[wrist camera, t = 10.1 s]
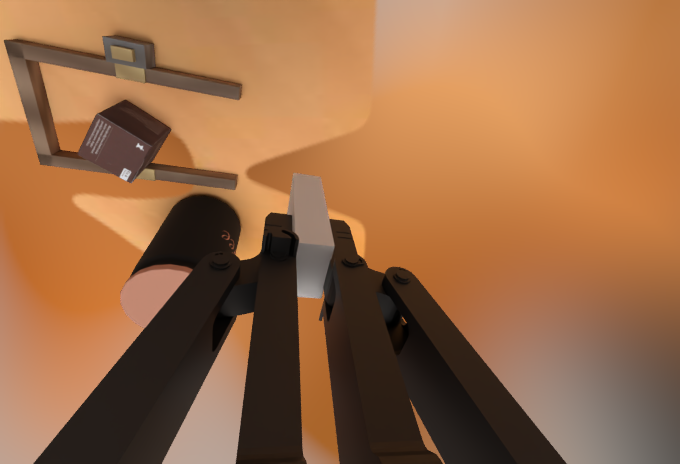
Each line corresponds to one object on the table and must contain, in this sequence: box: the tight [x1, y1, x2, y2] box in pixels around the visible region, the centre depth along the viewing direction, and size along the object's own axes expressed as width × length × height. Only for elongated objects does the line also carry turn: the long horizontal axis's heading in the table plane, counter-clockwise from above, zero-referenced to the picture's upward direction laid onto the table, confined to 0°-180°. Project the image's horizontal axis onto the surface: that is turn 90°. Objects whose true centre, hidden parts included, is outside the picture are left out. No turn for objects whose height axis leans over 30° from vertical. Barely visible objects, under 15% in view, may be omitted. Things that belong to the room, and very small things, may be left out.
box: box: [78, 100, 171, 183], centre depth 39 cm, size 6×6×7 cm
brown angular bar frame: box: [4, 36, 242, 190], centre depth 39 cm, size 17×24×4 cm
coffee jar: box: [121, 196, 241, 328], centre depth 43 cm, size 11×11×18 cm
